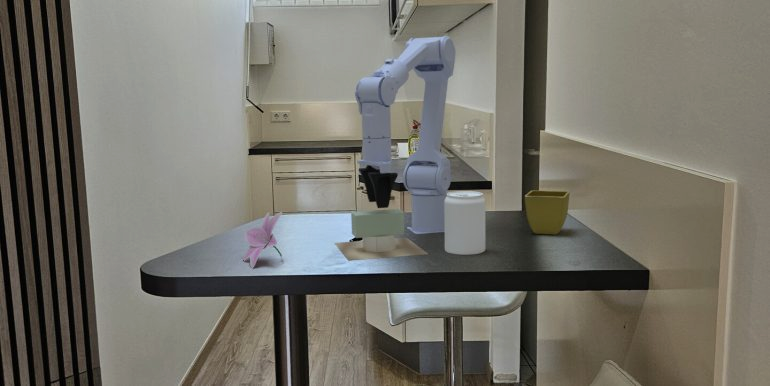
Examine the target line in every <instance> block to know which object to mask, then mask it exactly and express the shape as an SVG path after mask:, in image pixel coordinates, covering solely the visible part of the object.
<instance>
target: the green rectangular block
mask: <svg viewBox="0 0 770 386" xmlns="http://www.w3.org/2000/svg"><path fill="white" fill-rule="evenodd" d="M350 213H351V214H350V215H351V216H350V217H351V235H352V236H354V238H355V239H359V238H360V239H361V238H362V239H363V237H376V236H390V235H396V236H401V235H405V212H404V211H402V210H401V209H399V208H393V209H392V208H391V209H379V210H378V209H377V210H365V211H363V210H361V211H351V212H350Z"/></svg>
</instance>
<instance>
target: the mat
mask: <svg viewBox="0 0 770 386" xmlns="http://www.w3.org/2000/svg"><path fill="white" fill-rule="evenodd" d="M333 244H334V245H335V246H336V247H337V249H338V250H339V251H340V252H341V254H342V255H343V256H344V258H346V260H347V261H348V262H350V261H351V262H353V261H362V260H374V259H389V258H398V257H399V258H400V257H410V256H413V257H414V256H422V255H424V256H425V255H429V253H428V252H427V251H425V250H423V249H422V248H421V247H420V246H419V245H417V244H416V243H414V242H413V241H412V240H410V239H409V238H408V237H396V249H394V250H391V251H386V252H370V251H365V250H364V249H363V240H356V241H341V242H334V243H333Z"/></svg>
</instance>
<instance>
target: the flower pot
mask: <svg viewBox="0 0 770 386" xmlns="http://www.w3.org/2000/svg"><path fill="white" fill-rule="evenodd" d="M570 194H571V192H570V191H569V190H536V189H535V190H530V191H529V192H527V194H525V195H524V205H525V211H526V212H525V213H526V218H527V222H528V224H529V227H530V228H531V230H532V232H533V233H534V234H535V235H540V234H541V235H553V236H554V235H555V236H557V235H558V234H559V233H560V231H562V229H563V226H564V224H565V222H566V219H567V216H568V212H569V202H570Z"/></svg>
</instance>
